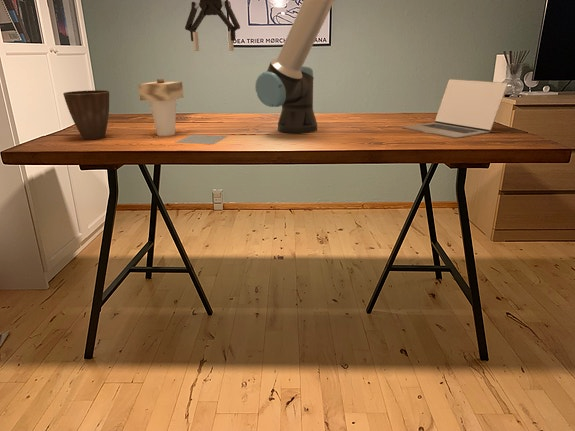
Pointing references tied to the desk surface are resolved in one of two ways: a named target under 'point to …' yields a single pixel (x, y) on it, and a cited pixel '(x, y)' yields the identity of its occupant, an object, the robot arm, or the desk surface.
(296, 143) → the desk surface
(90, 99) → the plant pot
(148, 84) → the lid
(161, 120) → the foam cup
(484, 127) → the laptop
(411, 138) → the desk surface
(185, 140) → the mat
